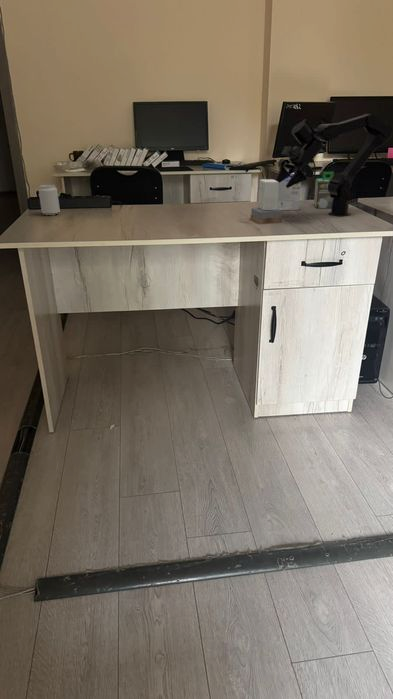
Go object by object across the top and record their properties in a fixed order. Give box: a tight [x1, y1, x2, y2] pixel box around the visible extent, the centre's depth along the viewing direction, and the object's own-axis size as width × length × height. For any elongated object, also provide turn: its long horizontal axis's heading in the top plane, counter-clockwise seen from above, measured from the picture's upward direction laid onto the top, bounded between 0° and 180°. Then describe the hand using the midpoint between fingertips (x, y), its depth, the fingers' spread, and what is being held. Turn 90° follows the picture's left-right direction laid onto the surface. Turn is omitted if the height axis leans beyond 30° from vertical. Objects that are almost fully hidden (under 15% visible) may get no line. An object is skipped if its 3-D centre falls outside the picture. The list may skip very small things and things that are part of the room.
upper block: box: [250, 207, 283, 219], centre depth 196 cm, size 9×9×2 cm
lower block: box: [250, 214, 282, 225], centre depth 197 cm, size 9×9×2 cm
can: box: [38, 184, 61, 214], centre depth 213 cm, size 8×8×12 cm
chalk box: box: [313, 171, 335, 209], centre depth 220 cm, size 9×9×15 cm
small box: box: [257, 178, 279, 210], centre depth 194 cm, size 8×6×10 cm
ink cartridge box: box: [277, 173, 302, 211], centre depth 216 cm, size 10×6×14 cm, turn 87°
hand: (280, 185), depth 193 cm, fingers open, 9 cm apart
